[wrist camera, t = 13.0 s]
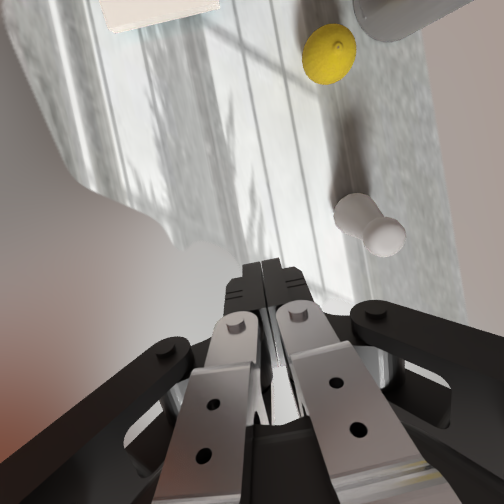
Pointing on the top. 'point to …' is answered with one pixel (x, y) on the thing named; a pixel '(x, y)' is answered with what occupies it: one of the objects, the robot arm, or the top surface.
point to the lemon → (329, 54)
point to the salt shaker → (369, 225)
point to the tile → (150, 12)
